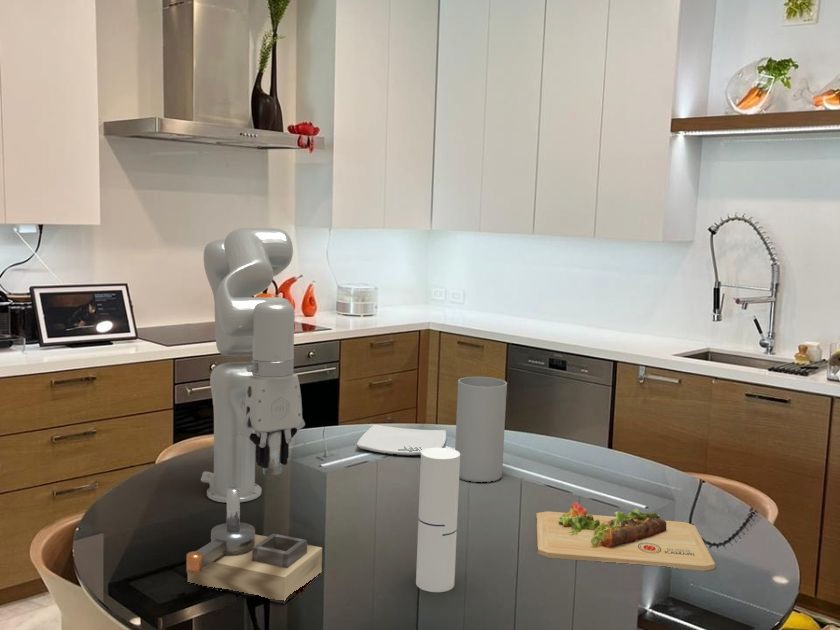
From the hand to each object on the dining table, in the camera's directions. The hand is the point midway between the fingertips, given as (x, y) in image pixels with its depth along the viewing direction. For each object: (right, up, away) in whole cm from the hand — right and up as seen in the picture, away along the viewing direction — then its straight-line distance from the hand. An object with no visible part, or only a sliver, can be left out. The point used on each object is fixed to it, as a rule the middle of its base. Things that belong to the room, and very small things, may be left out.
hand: (272, 463), depth 159 cm
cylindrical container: (+31, -22, -2) cm, 38 cm away
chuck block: (-3, -21, -3) cm, 21 cm away
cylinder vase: (+43, -14, +61) cm, 76 cm away
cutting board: (+70, -21, +21) cm, 77 cm away
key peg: (0, -2, 0) cm, 2 cm away
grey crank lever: (-9, -16, -6) cm, 19 cm away
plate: (+23, -10, +87) cm, 90 cm away
